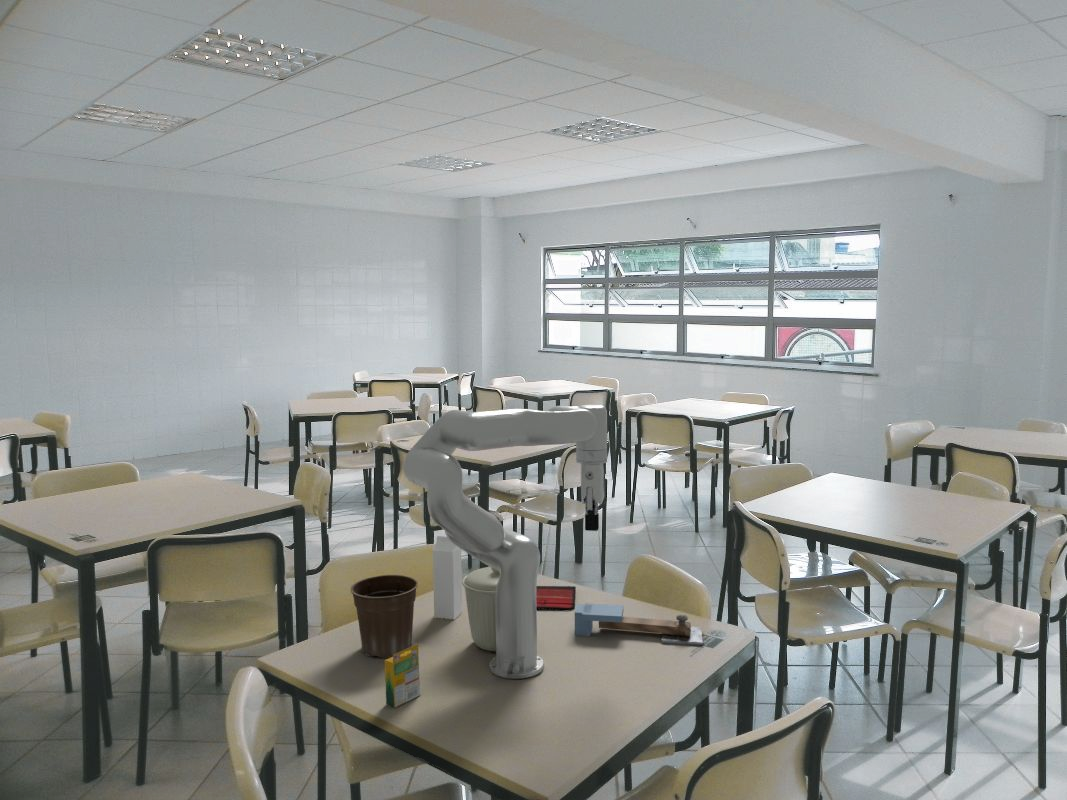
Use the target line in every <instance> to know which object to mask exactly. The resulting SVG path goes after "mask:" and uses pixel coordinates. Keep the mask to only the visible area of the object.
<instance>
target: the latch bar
mask: <svg viewBox="0 0 1067 800" xmlns="http://www.w3.org/2000/svg"><path fill="white" fill-rule="evenodd" d="M688 619H689V618H688V616H687V615H685V614H678V615H676V620H668V619H657V618H646V617H645V618H644V617H634V616H632V617H631V616H623V617H622V623H621V622H603V621H598V629H607V630H619V631H631V632H642V633H655V634H662V633H663V634H675V635H687V636H690V633H691V627H692V626H691V624H692V623H691V621H688Z"/></svg>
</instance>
